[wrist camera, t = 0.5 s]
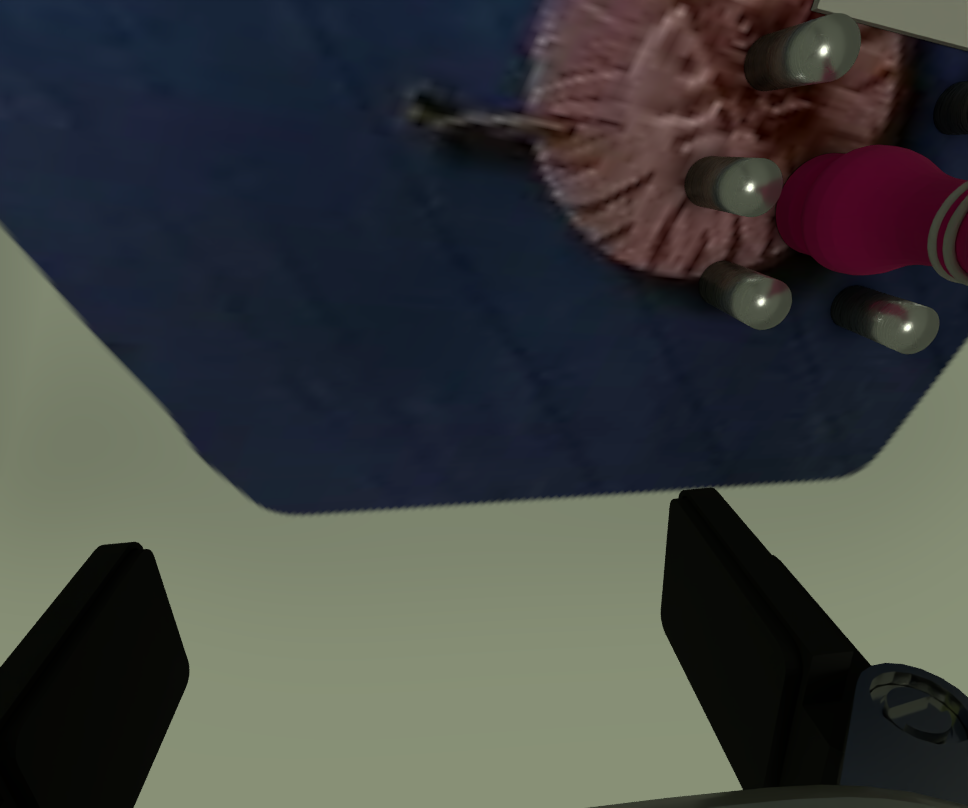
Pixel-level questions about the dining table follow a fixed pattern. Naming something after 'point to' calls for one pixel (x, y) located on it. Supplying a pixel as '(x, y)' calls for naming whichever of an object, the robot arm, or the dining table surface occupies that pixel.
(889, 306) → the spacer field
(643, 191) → the dining table surface
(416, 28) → the dining table surface
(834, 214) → the pepper mill
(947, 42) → the mat
